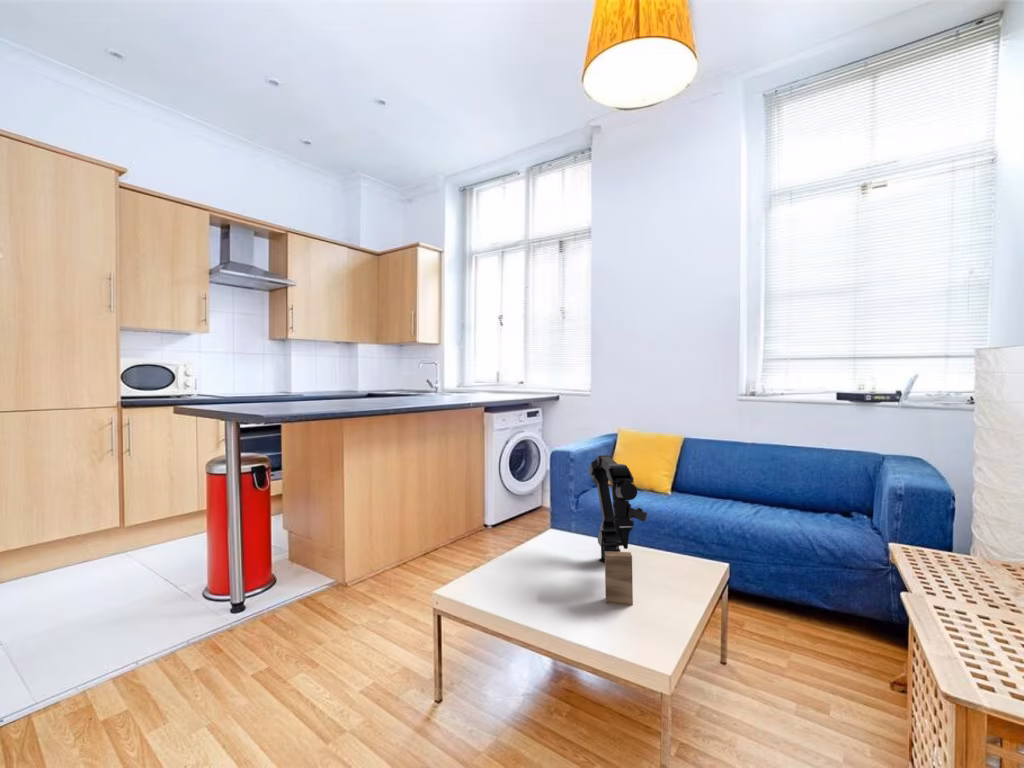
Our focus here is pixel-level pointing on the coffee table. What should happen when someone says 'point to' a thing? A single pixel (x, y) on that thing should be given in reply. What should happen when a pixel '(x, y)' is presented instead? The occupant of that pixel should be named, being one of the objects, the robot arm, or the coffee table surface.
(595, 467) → the robot arm
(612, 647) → the coffee table surface
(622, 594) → the walnut card box
